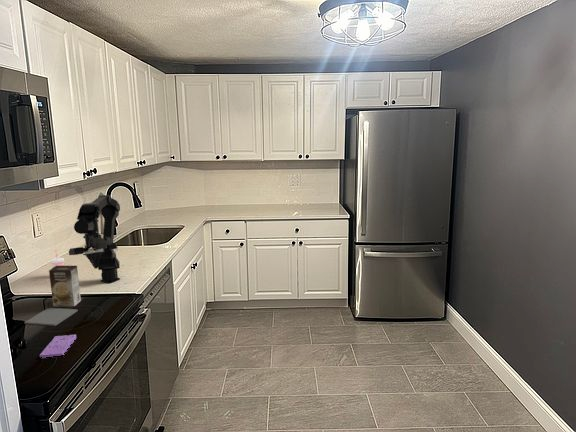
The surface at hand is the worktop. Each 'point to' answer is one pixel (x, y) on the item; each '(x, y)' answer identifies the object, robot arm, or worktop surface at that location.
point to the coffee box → (65, 286)
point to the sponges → (58, 346)
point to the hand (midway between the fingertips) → (96, 268)
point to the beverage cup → (57, 261)
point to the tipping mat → (51, 316)
